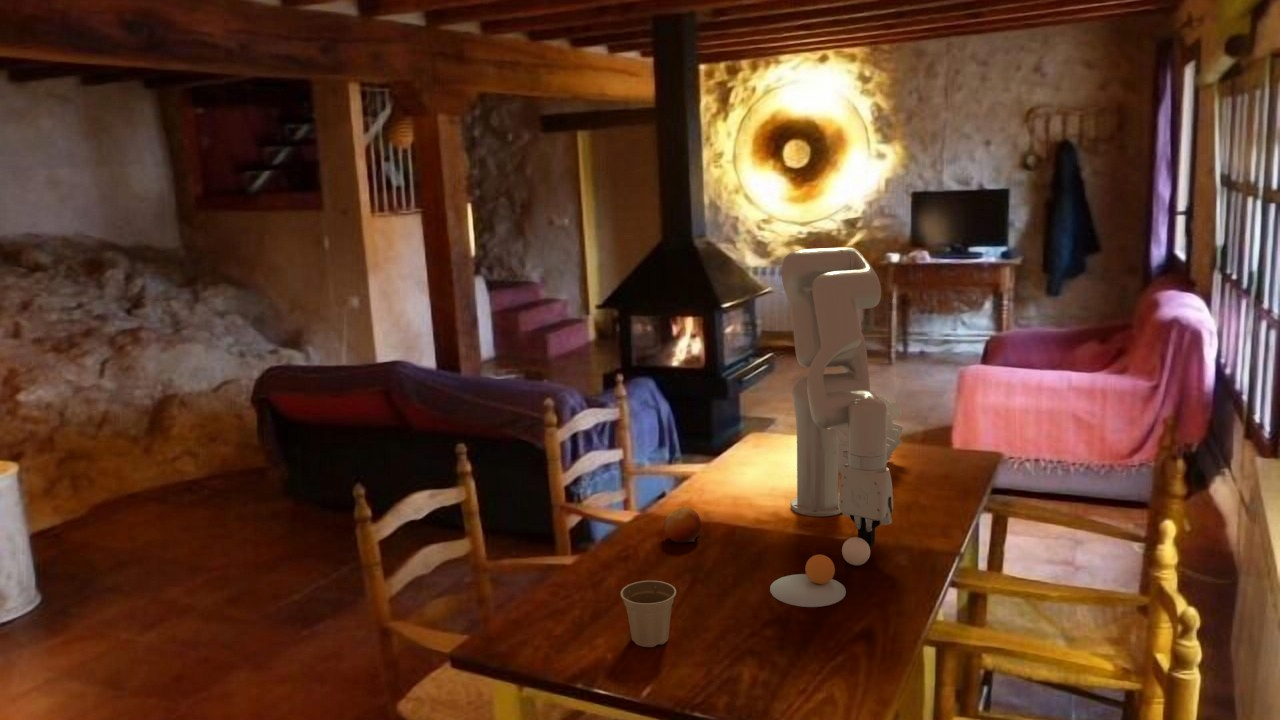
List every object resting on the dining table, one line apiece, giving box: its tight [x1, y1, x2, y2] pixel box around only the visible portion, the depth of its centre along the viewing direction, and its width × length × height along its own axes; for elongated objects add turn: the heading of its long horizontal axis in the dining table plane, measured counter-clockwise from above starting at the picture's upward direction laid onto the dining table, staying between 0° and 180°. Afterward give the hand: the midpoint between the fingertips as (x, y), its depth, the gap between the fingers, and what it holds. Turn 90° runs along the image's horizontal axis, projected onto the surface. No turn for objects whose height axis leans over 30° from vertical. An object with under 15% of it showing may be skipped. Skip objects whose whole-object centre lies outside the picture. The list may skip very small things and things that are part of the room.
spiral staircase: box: [836, 393, 904, 476], centre depth 249 cm, size 18×18×25 cm
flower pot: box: [620, 580, 677, 648], centre depth 162 cm, size 9×9×9 cm
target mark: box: [769, 573, 847, 608], centre depth 179 cm, size 14×14×1 cm
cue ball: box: [841, 536, 871, 566], centre depth 189 cm, size 6×6×6 cm
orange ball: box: [804, 554, 836, 584], centre depth 181 cm, size 6×6×6 cm
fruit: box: [663, 506, 702, 544], centre depth 206 cm, size 8×8×8 cm
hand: (866, 546), depth 194 cm, fingers closed
